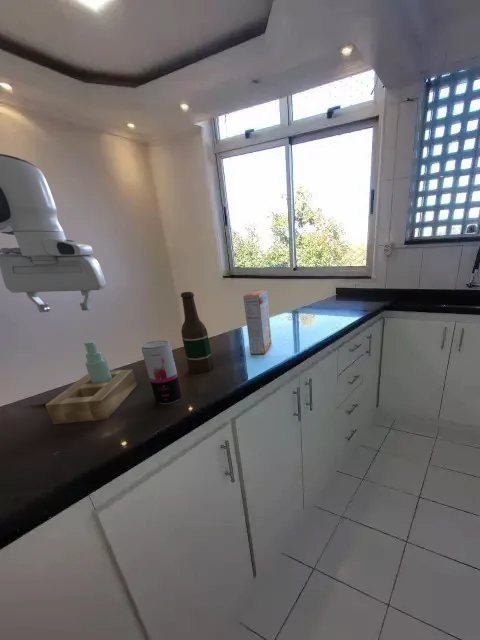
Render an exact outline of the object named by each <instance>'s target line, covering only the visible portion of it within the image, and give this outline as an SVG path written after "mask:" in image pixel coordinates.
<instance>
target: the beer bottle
mask: <svg viewBox="0 0 480 640" xmlns="http://www.w3.org/2000/svg"><path fill="white" fill-rule="evenodd" d="M180 297H181V299H182V308H183V313H184V314H183V316H184V320H183V324H182V325H181V331H180V332H181V338H182V344H183V349H184V354H185V358H186V362H187V367H188V370H189V371H190V372H191V373H192V374H203V373H206V372H210V371H211V370H212V369H213V368H214V365H213V364H214V363H213V357H212V351H211V345H210V344H211V343H210V339H209V333H208V330H207V328H206V326H205V324H204V323H203V321H202V320H201V319H200V317H199V314H198V310H197V307H196V302H195V299H194V297H195V294H194V292H193V291H184V292H181V293H180Z"/></svg>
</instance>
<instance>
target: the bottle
mask: <svg viewBox="0 0 480 640" xmlns="http://www.w3.org/2000/svg"><path fill="white" fill-rule="evenodd" d="M83 345H84V347H85V350H86V353H85V354H84V356H85V358H86V361H85V362H84V365H85V368H86V370H87V374H88V373H89V376H90V379H91V382H92V383H101V382H109V381H110V380H111V379H112V376H111V373H110V371H111V370H110V368H109V367H110V366H109V363H108V360H107V358H105V357H103V355H102V353H101V351H98V349H97V346H96V343H95V341H94V340H88V341H84V342H83Z"/></svg>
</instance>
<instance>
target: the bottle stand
mask: <svg viewBox="0 0 480 640" xmlns="http://www.w3.org/2000/svg"><path fill="white" fill-rule="evenodd" d="M110 373H111V376H112V379H111V380H110V381H109V382H101V383H92V382H91V379H90V376H89V373H88V372H87V373H86V374H85V375H83V376H82V377H81V378H79V379H78V380H77V381H76V382H74V383H73V384H71V385H69V387H68V388H66V389H65V390H64V391H62V392H61V393H59V394H58V395H56V397H54V398H53V399H51V400H50V401H49V402H47V403H46V404H45V408H46V410H47V412H48V414H49V418H50V419H51V422H52V423H53V425H61V424H72V423H83V422H94V421H103V420H104V421H105V420H109V418H111V416H112V415H113V413H115V412H116V410H117V409H118V408H119V407H120V405H121V404H122V403H123V402H124V401H125V400H126V399H127V397H128V396H130V394H131V393H132V391H134V389H135V388H136V387H137V384H138V383H137V380H136V378H135V374H134V370H133V369H132V368H130V369H117V370H110Z"/></svg>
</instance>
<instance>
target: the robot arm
mask: <svg viewBox="0 0 480 640" xmlns="http://www.w3.org/2000/svg"><path fill="white" fill-rule="evenodd" d="M0 233H1V234H5V235H9V236H10V235H11V236H14V237H15V240H16V242H17V245H18V247H1V248H0V273H1V278H2V280H3V284H4V286H5V288H6V290H8V291H9V292H10V293H12V294H13V293H15V294H16V293H17V294H18V293H26V295H27V298H28V299H29V300H30V301H31V302H32V303H34V304H35V306H36V307H37V310H38V311H39V313H48V312H50V311H51V309H50V306H49V303H48V302H47V303H45V302H43V300H42V299H41V298H40V296H41V294H40V293H46V292H47V293H49V292H53V293H54V292H80V294H81V296H83V297H84V298H83V302H80V303H79V306H80V307H81V308H80V309H81V311H91V310H92V305H91V301H92V298H93V291H101V290H104V289H105V288H106V286H107V282H106V279H105V274H104V272H103V270H102V267H101V265H100V263H99V261H98V260H97V258H95V257H94V256H92V255H93V254H94V250H93V247H92V246H91V245H90V244H86V243H83V242H80V241H76V240H72V239H69V238H67V237H66V234H65V231H64V229H63V227H62V226H61V224H60V222H59V219H58V210H57V205H56V203H55V199H54V197H53V194H52V191H51V188H50V186H49V184H48V181H47V179H46V177H45V175H44V173H43V171H42V170H41V169H39V168H38V166H36V165H35V164H33V163H31V162H29V161H27V160H25V159H23V158H20V157H17V156H13V155H8V154H3V153H0Z"/></svg>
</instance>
